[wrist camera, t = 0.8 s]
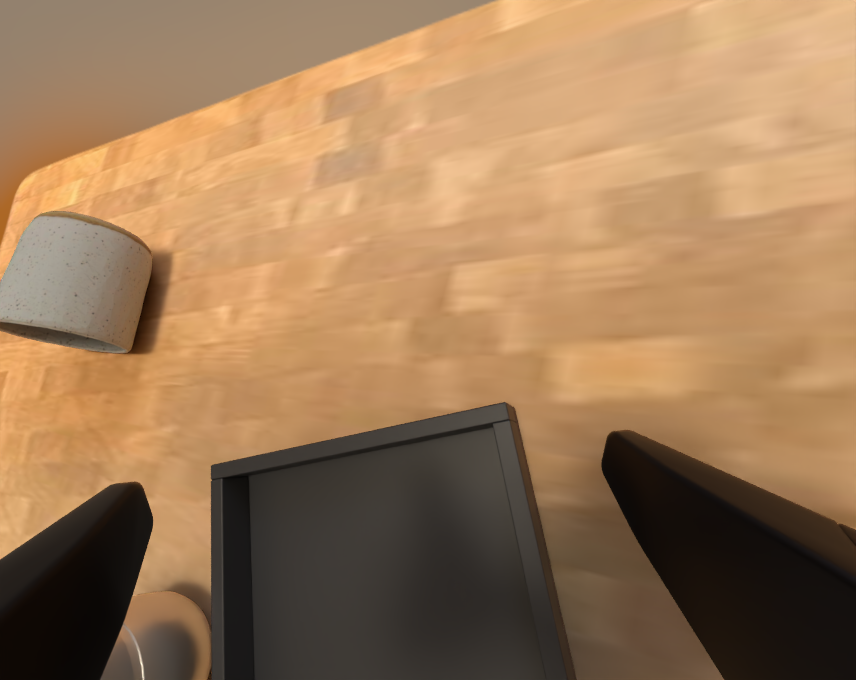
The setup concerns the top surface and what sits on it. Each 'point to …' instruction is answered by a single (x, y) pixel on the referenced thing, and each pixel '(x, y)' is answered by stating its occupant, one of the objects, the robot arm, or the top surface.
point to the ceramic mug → (76, 283)
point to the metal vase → (161, 640)
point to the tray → (386, 559)
